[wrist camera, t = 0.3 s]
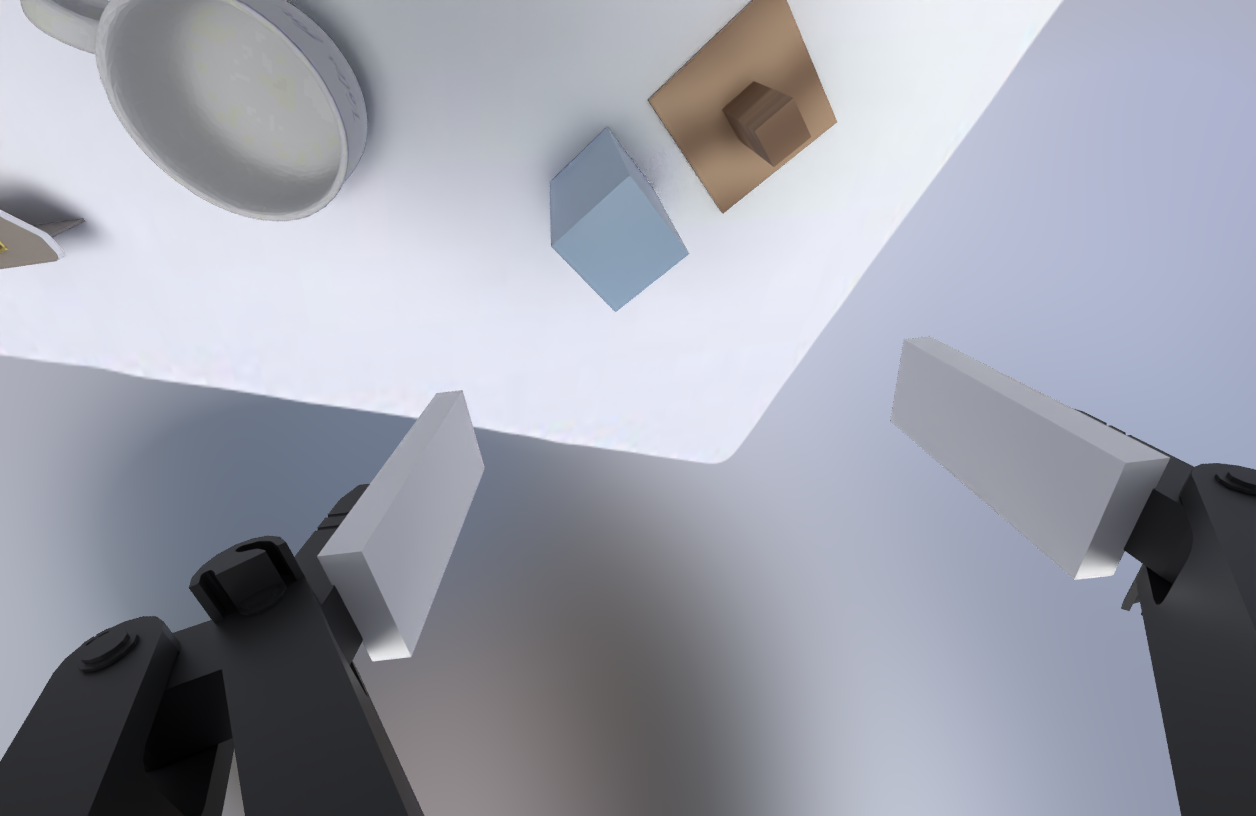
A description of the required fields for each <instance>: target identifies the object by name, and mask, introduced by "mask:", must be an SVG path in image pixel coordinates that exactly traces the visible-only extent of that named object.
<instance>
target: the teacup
mask: <svg viewBox="0 0 1256 816" xmlns="http://www.w3.org/2000/svg"><path fill="white" fill-rule="evenodd" d="M20 1H21V6H22V9H23V12H24V13H25V15H26V17H27V18H28V19H29V20H30V21H31V22H32V23H33V24H34V25H35V26H36V27H37V28H39V29H40V30H42V31H43V32H44V33H46V34H48V35H49V36H51V37H53V38H55V39H57V40H59V41H61V42H63V43H65V44H68V45H70V46H73V47H75V48H78V49H80V50H83V51H86V52H90V53H93V54H96V61H97V67H98V70H99V74H100V78H101V81H102V84H103V86H104V88H105V90H106V93H107V96H108V99H109V101H110V103H111V106H112V108H113V110H114V112H115V113H116V115H117V117H118V119H119V120H120V122H121V123H122V125H123V126H124V128H125V129H126V131H127V132H128V133H129V134H130V136H131V137H132V138H133V140H134V141H135V142H136V144H137V145H138V146H139V147H140V148H141V149H142V150H143V151H144V153H145V154H146V155H147V156H148V157H149V158H150V159H151V160H152V161H153V162H154V163H155V164H156V165H157V166H158V167H160V168H161V169H162V170H163V171H164V172H166V173H167V174H168V175H169V176H170V177H171V178H173V179H174V180H175V181H177V182H178V183H179V184H181V185H182V186H184V187H185V188H187V189H188V190H190V191H191V192H192V193H194V194H195V195H197V196H199V197H200V198H202V199H204V200H206V201H208V202H210V203H212V204H214V205H216V206H218V207H220V208H223V209H225V210H227V211H230V212H232V213H235V214H239V215H242V216H246V217H250V218H254V219H259V220H270V221H289V220H296V219H301V218H304V217H308V216H310V215H312V214H314V213H316V212H318V211H319V210H321V209H322V208H324V207H326V206H327V204H328V203H329V202H330V201H332V200H333V199H334V198H335V196H336V195H337V193H338V192H339V190H340V189H341V187H342V185H343V183H344V182H345V181H346V180H347V178H348V177H349V176H350V175H351V173H352V172H353V170H354V169H355V167H356V166H357V164H358V162H359V160H360V158H361V156H362V153H363V151H364V148H365V144H366V138H367V127H368V126H367V113H366V106H365V101H364V98H363V94H362V91H361V89H360V86H359V84H358V81H357V79H356V76H355V74H354V73H353V71H352V69H351V67H350V65H349V63H348V62H347V60H346V59H345V57H344V56H343V54H342V53H341V51H340V50H339V49H338V47H337V46H336V45H335V43H334V42H333V41H332V40H331V39H330V37H329V36H328V35H327V34H326V33H325V32H324V31H323V30H322V29H321V28H320V27H319V26H318V25H317V24H316V23H315V22H314V21H312V20H311V19H310V18H309V17H308V16H307V15H305V14H304V13H303V12H301V11H300V10H299V9H297V8H296V7H295V6H293V5H291V4H290V3H288V2H287V1H285V0H110V1H109V0H20Z"/></svg>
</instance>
